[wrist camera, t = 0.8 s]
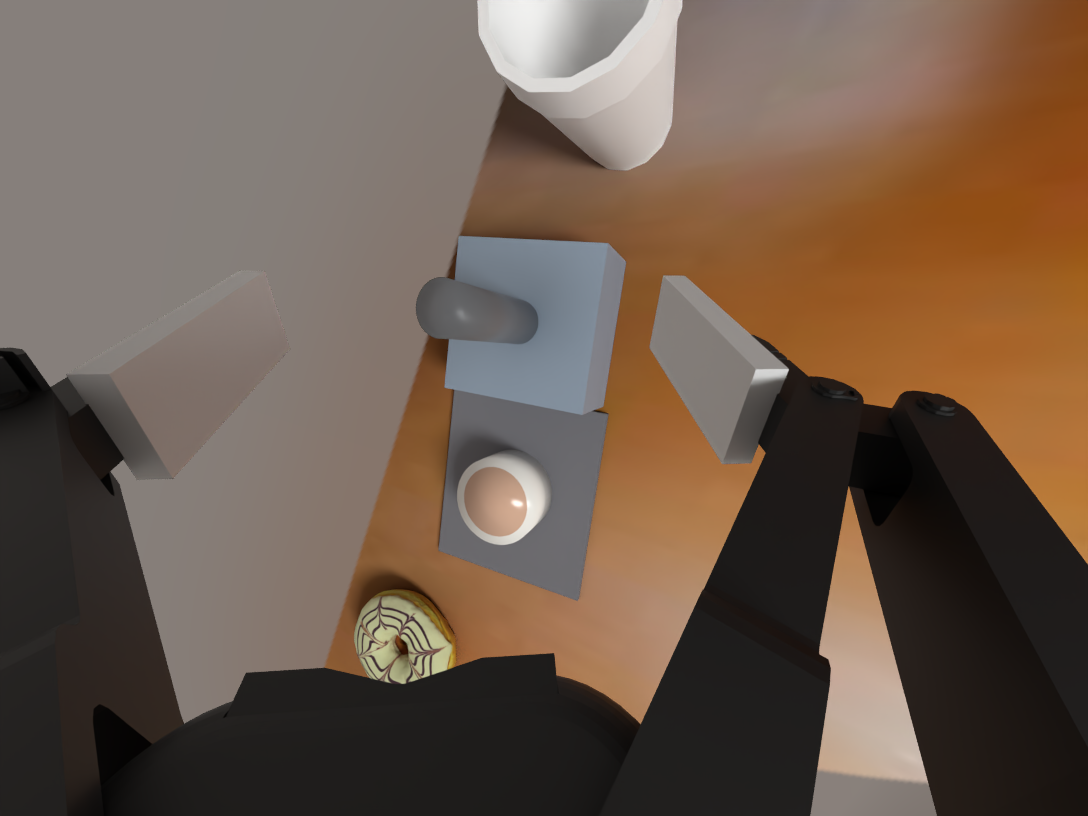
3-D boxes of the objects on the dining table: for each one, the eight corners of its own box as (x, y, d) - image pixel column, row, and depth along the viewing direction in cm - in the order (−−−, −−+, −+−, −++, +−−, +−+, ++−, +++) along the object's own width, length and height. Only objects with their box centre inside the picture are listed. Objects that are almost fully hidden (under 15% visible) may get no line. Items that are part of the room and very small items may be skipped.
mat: (457, 384, 39) (454, 384, 38) (608, 413, 34) (607, 414, 33) (441, 548, 41) (438, 550, 41) (578, 598, 36) (577, 600, 36)
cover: (496, 253, 36) (362, 190, 22) (626, 261, 32) (558, 191, 19) (482, 383, 38) (350, 397, 24) (603, 406, 34) (526, 437, 20)
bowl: (483, 441, 38) (461, 449, 35) (557, 459, 35) (540, 469, 32) (475, 516, 39) (452, 530, 36) (546, 538, 37) (529, 556, 33)
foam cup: (542, 152, 34) (444, 38, 22) (615, 28, 31) (548, -183, 19) (638, 217, 31) (588, 130, 19) (726, 90, 28) (731, -104, 16)
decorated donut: (439, 702, 44) (415, 732, 40) (364, 636, 47) (336, 659, 43) (477, 628, 41) (454, 653, 38) (394, 562, 44) (366, 580, 41)
